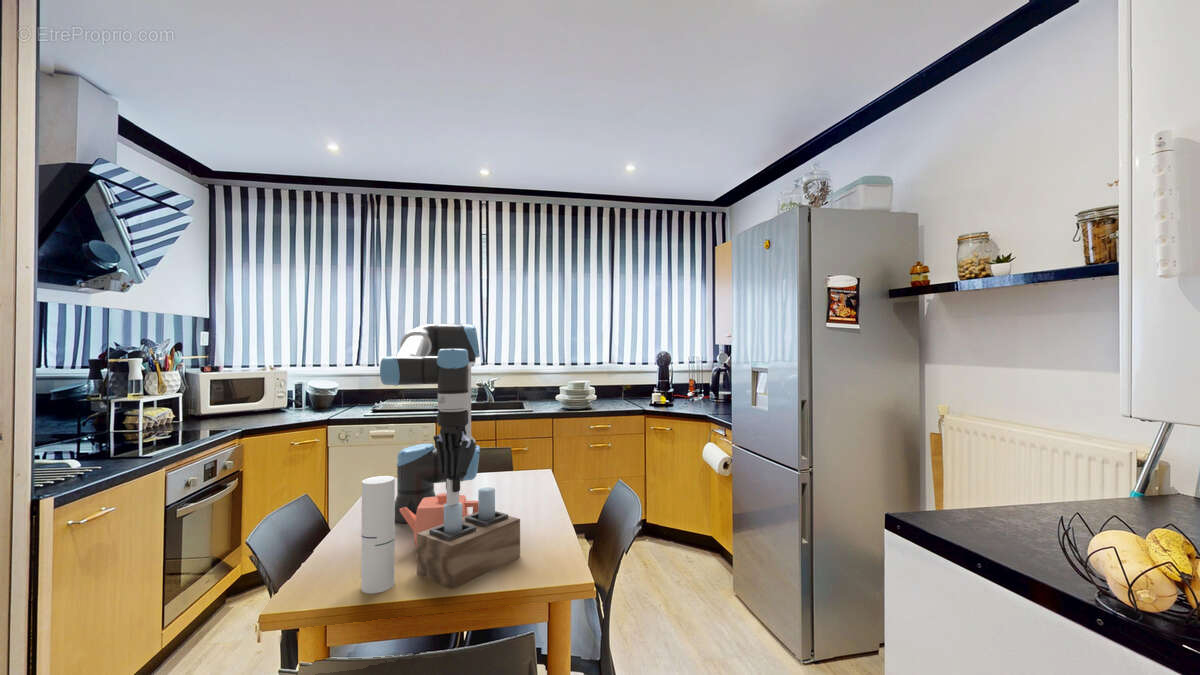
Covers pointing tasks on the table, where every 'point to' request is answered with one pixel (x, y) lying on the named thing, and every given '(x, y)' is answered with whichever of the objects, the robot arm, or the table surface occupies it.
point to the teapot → (433, 512)
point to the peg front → (452, 518)
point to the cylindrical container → (378, 534)
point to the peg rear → (486, 504)
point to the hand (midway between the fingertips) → (452, 503)
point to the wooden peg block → (467, 549)
